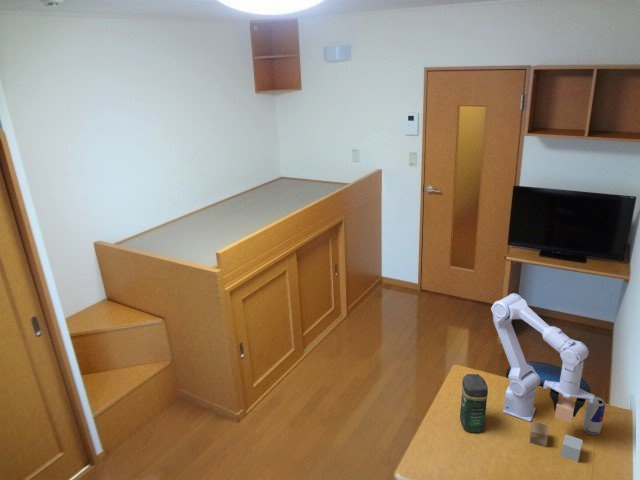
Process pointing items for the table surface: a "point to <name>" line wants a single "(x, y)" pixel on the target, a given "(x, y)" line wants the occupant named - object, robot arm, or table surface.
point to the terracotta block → (565, 409)
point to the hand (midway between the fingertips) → (565, 411)
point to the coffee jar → (473, 403)
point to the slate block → (571, 448)
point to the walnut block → (539, 434)
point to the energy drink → (594, 416)
